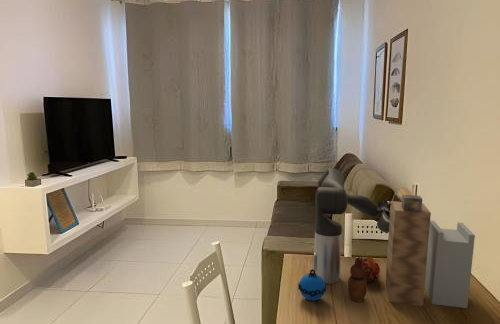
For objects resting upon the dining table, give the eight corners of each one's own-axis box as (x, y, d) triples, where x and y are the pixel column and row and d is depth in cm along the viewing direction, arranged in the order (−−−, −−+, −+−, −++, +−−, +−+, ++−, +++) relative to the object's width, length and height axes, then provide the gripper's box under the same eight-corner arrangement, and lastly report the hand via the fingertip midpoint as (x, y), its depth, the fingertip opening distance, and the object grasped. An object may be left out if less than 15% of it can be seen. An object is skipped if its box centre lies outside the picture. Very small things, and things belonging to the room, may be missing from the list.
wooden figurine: (366, 304, 116) (369, 259, 113) (347, 302, 117) (349, 257, 115) (364, 294, 122) (367, 251, 120) (346, 292, 123) (348, 249, 121)
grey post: (432, 303, 116) (438, 232, 113) (424, 285, 128) (429, 220, 124) (467, 308, 114) (474, 235, 110) (456, 289, 126) (462, 222, 122)
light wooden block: (403, 210, 113) (404, 197, 112) (395, 195, 132) (395, 184, 131) (421, 211, 112) (422, 198, 111) (410, 195, 131) (410, 184, 130)
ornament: (323, 292, 123) (324, 264, 121) (326, 306, 115) (327, 276, 113) (297, 291, 124) (298, 263, 122) (298, 305, 115) (299, 275, 114)
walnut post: (388, 301, 118) (395, 210, 113) (385, 285, 128) (390, 201, 123) (422, 305, 115) (430, 212, 111) (416, 288, 126) (423, 203, 121)
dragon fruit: (366, 292, 127) (363, 280, 138) (387, 279, 125) (383, 269, 137) (351, 270, 128) (349, 261, 139) (373, 258, 126) (369, 249, 138)
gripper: (374, 202, 157) (378, 191, 142) (410, 204, 153) (418, 193, 139) (374, 219, 154) (378, 210, 140) (411, 222, 151) (419, 213, 136)
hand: (398, 202), depth 139 cm, fingers open, 8 cm apart
